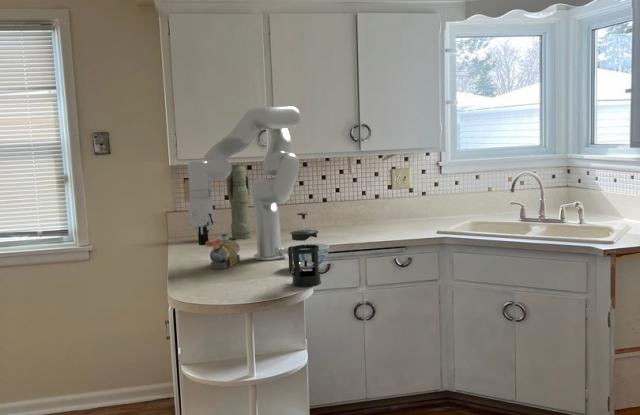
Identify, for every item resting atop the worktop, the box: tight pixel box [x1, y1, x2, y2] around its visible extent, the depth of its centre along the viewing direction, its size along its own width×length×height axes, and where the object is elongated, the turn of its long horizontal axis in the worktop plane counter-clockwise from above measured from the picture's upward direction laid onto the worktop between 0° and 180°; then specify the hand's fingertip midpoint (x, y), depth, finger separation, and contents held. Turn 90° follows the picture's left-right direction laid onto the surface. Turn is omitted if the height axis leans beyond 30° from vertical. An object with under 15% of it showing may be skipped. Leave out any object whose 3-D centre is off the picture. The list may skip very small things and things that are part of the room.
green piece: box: [226, 164, 251, 240], centre depth 307 cm, size 9×12×35 cm
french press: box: [287, 212, 322, 288], centre depth 206 cm, size 12×9×23 cm
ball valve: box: [209, 239, 241, 270], centre depth 244 cm, size 7×16×9 cm, turn 164°
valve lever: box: [205, 233, 230, 248], centre depth 238 cm, size 15×4×2 cm, turn 165°
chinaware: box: [287, 242, 330, 271], centre depth 232 cm, size 15×15×8 cm
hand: (203, 244), depth 234 cm, fingers closed
